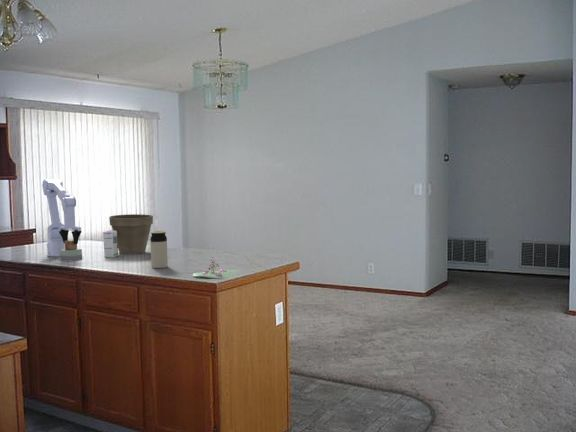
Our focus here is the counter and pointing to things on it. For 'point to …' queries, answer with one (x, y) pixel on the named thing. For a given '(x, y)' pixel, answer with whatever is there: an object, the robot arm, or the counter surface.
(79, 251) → the sage slab
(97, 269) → the counter surface
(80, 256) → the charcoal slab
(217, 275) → the plant
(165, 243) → the travel mug
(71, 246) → the walnut block
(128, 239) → the plant pot
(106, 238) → the syrup box
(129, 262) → the counter surface
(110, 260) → the counter surface
